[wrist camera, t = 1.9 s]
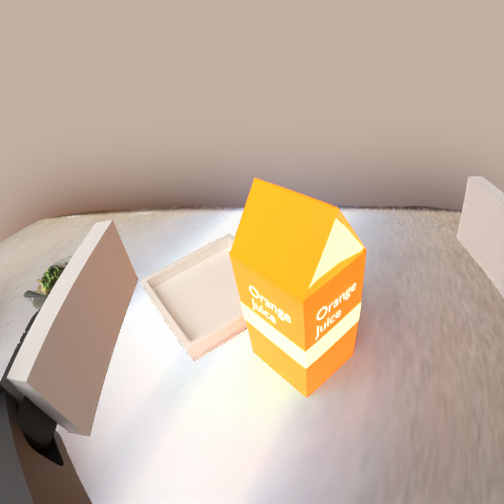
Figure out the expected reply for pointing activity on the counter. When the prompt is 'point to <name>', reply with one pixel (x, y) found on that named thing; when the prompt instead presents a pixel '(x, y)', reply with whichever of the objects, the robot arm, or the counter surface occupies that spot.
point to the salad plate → (46, 283)
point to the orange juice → (298, 283)
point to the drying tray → (199, 298)
